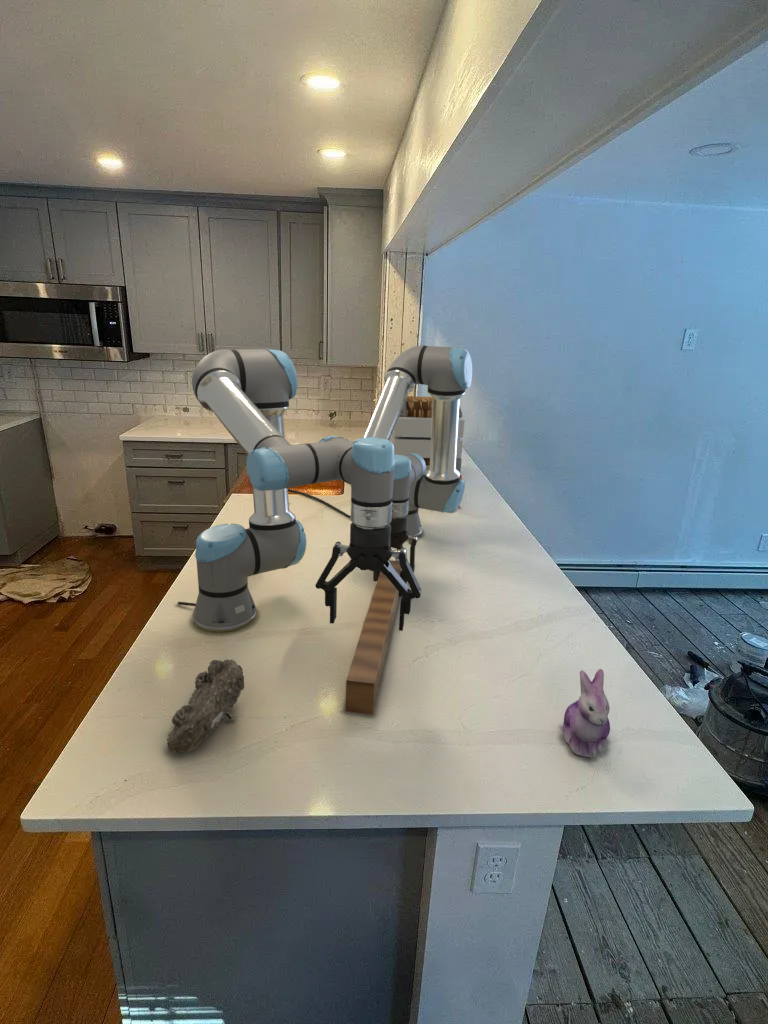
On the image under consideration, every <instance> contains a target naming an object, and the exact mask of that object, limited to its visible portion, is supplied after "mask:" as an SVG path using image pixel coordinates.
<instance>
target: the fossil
mask: <svg viewBox="0 0 768 1024" xmlns="http://www.w3.org/2000/svg"><path fill="white" fill-rule="evenodd" d="M243 670H244V669H243V667H242V665H240V664H237V662H236V661H235V660H234V659H232V658H231V659H227V658H226V659H224V660H223V661H222V660H217V659H212V660H211V661H210V663H209V665H208V666H207V671H201V672H199V673H198V674H197V675H196V676H195V680H194V684H195V685H194V687H195V689H194V690H193V693H192V694H191V697H190V698H189V700H188V704H184V705H182V706H181V707H180V709H177V710H176V711H175V713H174V715H173V716H172V718H171V723H172V724H173V727H172V730H171V731H170V732H168V734H167V738H166V741H167V742H166V745H167V749H168V750H169V751H173V752H174V753H176V754H178V753H182V752H188V751H189V752H192V751H193V750H195V748H196V747H197V746H199V744H200V743H201V742H203V741H204V740H205V739H206V738H207V737H208V736H209V735H210V734H211V733H212V732H214V730H215V729H217V727H218V726H219V724H220V722H221V721H222V720H223V719H224V718H225V716H226V717H227V719H229V720H233V717H232V715H230V714H229V710H230V709H231V708H234V706H235V704H236V703H237V702H238V699H239V697H240V695H241V693H242V691H243V690H245V689H244V688H245V675H244V671H243Z"/></svg>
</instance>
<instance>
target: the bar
mask: <svg viewBox="0 0 768 1024" xmlns="http://www.w3.org/2000/svg"><path fill="white" fill-rule="evenodd" d="M388 561H389V562H390V563H391V565H392V567H393V568H394V570H395V571H396V572H397V573H398V575H399V576H400V573H401V570H402V569H401V567H400V563H399V562H397V561H396V560H392V559H389V560H388ZM375 583H376V584H375V587H374V589H373V593H372V596H371V599H370V603H369V606H368V609H367V613H366V615H365V618H364V622H363V625H362V628H361V631H360V635H359V638H358V641H357V644H356V647H355V651H354V654H353V657H352V660H351V663H350V667H349V670H348V673H347V676H346V679H345V709H344V710H345V711H344V712H347V713H355V714H361V715H362V714H363V715H370V716H374V711H375V707H376V703H377V698H378V694H379V690H380V685H381V681H382V676H383V671H384V667H385V662H386V657H387V653H388V648H389V644H390V640H391V639H390V638H391V635H392V631H393V627H394V623H395V622H394V620H395V617H396V612H397V608H398V603H399V599H400V596H399V591H398V590H397V589H396V588H395V586H394V585H393V584H392V583H391V581H390V580H389V579H388V578H387V576H386V575H384V574H383V573H382V572H381V571H380V574H379V577H378V580H377V582H375Z"/></svg>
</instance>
